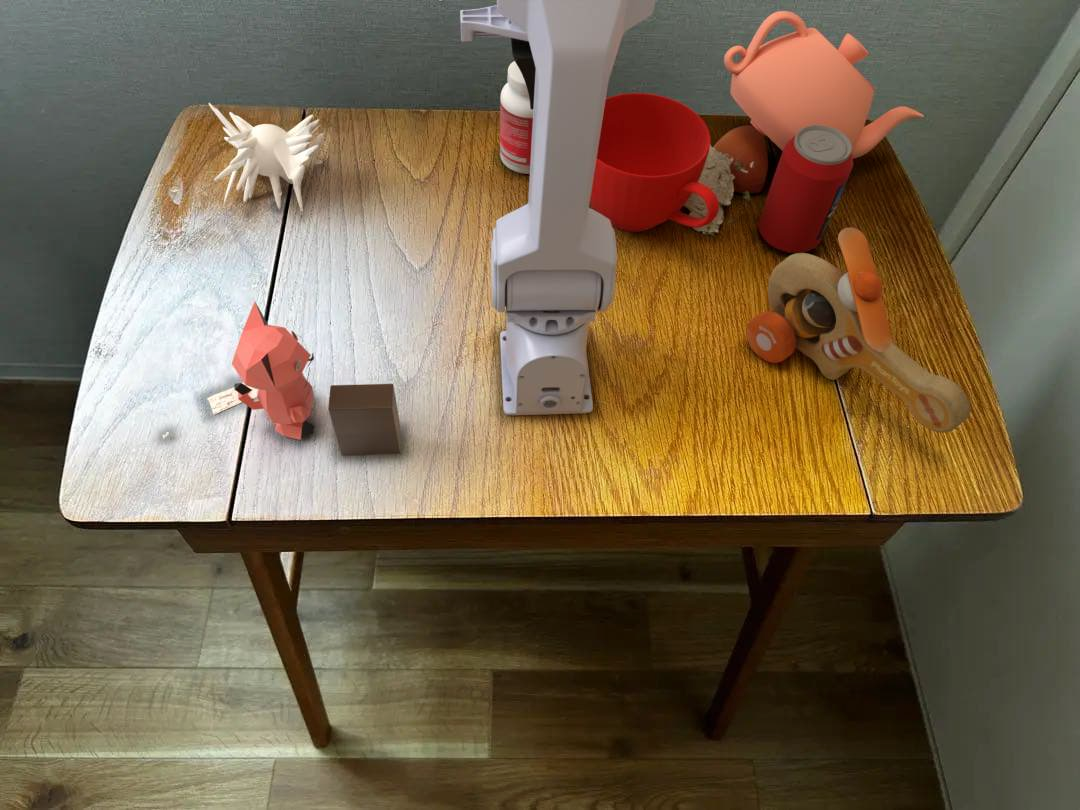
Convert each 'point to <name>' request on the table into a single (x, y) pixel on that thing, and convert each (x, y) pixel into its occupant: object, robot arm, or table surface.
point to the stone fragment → (715, 189)
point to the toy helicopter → (849, 330)
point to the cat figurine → (275, 375)
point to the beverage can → (806, 188)
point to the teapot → (807, 86)
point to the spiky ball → (269, 154)
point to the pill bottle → (515, 122)
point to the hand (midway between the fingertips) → (536, 103)
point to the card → (226, 400)
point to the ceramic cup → (650, 162)
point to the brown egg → (745, 157)
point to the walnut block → (365, 419)
